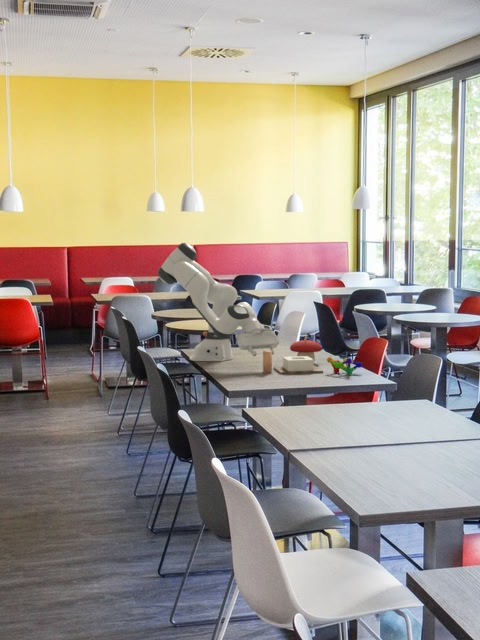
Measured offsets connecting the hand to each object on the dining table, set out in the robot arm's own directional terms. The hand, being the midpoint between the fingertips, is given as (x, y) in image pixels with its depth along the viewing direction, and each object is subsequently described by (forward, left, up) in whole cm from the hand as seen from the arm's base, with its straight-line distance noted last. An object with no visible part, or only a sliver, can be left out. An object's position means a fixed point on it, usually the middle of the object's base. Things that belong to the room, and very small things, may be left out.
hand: (263, 354), depth 396 cm
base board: (+16, 0, -8) cm, 18 cm away
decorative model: (+35, -12, -8) cm, 38 cm away
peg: (+1, -2, -8) cm, 8 cm away
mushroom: (+25, +22, -8) cm, 35 cm away
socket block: (+16, 0, -8) cm, 18 cm away
